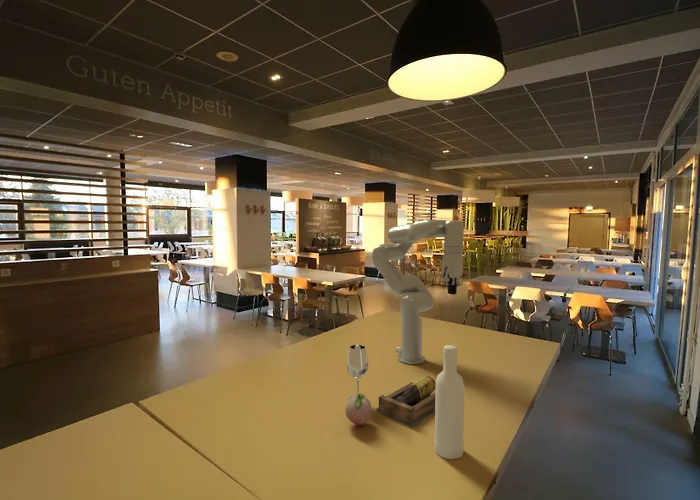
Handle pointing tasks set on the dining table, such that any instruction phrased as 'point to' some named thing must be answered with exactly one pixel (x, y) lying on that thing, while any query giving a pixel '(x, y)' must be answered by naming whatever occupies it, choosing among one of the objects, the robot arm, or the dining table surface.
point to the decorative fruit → (358, 409)
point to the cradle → (406, 407)
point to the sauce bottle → (418, 391)
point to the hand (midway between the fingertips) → (452, 293)
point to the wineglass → (357, 363)
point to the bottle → (449, 408)
